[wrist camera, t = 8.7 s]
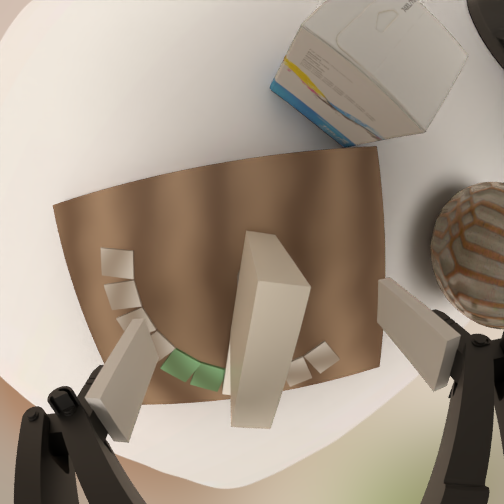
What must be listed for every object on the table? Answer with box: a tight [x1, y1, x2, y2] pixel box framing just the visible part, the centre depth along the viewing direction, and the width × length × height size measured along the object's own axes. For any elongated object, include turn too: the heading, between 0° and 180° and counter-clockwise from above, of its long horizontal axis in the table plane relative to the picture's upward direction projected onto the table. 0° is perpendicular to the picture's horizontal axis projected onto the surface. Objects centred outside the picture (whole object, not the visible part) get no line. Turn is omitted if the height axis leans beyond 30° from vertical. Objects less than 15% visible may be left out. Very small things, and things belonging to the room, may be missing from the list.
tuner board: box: [53, 146, 385, 405], centre depth 24 cm, size 28×22×2 cm
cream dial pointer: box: [222, 231, 311, 429], centre depth 18 cm, size 16×2×12 cm, turn 171°
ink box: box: [270, 0, 468, 148], centre depth 16 cm, size 9×8×12 cm
